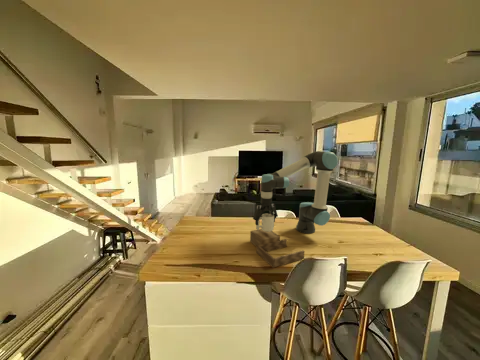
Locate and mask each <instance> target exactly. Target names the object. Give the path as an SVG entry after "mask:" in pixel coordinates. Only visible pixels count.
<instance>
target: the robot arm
mask: <svg viewBox="0 0 480 360" xmlns="http://www.w3.org/2000/svg"><path fill="white" fill-rule="evenodd" d="M338 162H339V160H338V156H337V155H336V154H335V152H331V151H321V150H316V151H313V152H311V153H308V154H307V155H304V156H302V157H301V159H299V160H297V161H295V162H293V163H291V164H289V165H287V166H285V167H282V168H281V169H279V170H276V171H275V172H273V173H267V174H262V175H261V181H260V182H261V185H260V186H261V187H260V188H261V189H260V205H258V204H257V205H256V206H255V207H256V209H255V211H254V214H253V216H252V219H253V220H254V221H255V230H259V229H260V227H259V225H260V221H261V220H259V219H260V217H262V214H264V213H265V212H269V214H271V215H272V216H273V215H274V223H275V222H276V219H277V218H278V217H279V216H278V212H277V208H276V204H275V203H273V189H285V188H289V186H290V178H289V177H291V176H293V175H295V174H296V173H298V172H300V171H303V170H305V169H310V168H312V167H316V168H315V170H316V172H317V174H316V175H317V177H316V185H315V190H314V199H313V202H311V201H310V202H309V201H307V202H305V201H304V202H301V203H299V209H298V210H299V211H298V212H299V214H298V221H297V224H296V226H295V230H296V231H297V232H299V233H303V234H313V233H315V232H316V227H315V225H318V226H325V225H327V223H328V222H329V221H330V219H331V214H330V212H329V211H328V206H327V199H328V193H329V184H330V178H331V174H332V172H334V169H336V167H337V166H338Z"/></svg>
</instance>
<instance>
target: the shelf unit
mask: <svg viewBox="0 0 480 360" xmlns="http://www.w3.org/2000/svg"><path fill="white" fill-rule="evenodd" d="M249 236H250V238H249V242H250V243H251V244H252V245H253V246H255V247H256V254H257V255H258V256H259V257H260V258H261V259H263V261H265V262H266V263H267V264H268V265H269V266H271V268H277V267H279V266H283V265H287V264H291V263H293V262H298V261H300V260H304V259H305V252H306V251H305V250H299V251H296V252H291V253H288V254H284V255H280V256H276V257H273V256H272V255H271V254H269V253H268V252H270V251H274V250H278V249H282V248H283V249H284V248H286V247H287V245H288V244H287V242H288V239H285V238H284V239H281V235H279V234H277V233H275V232H274V230H273V231H271V232H266V231H263V230H262V228H259V230H257V229H254V230H250V235H249ZM303 258H304V259H303Z"/></svg>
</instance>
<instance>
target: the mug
mask: <svg viewBox="0 0 480 360" xmlns="http://www.w3.org/2000/svg"><path fill="white" fill-rule="evenodd" d="M259 221H261V225H260V224H259V229H262V230H263V231H266V232H271V231H273V232H274V228H275V222H274V215H273V216H272V215H271V214H270V213H263V214H262V215H261V217H260V219H259Z"/></svg>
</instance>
